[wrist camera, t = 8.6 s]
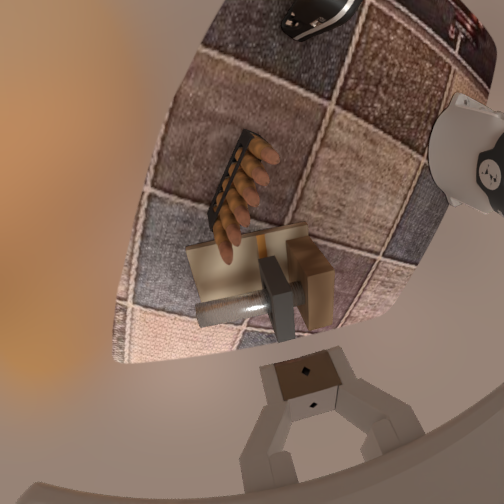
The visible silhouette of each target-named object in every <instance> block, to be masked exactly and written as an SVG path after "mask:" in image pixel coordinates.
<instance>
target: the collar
mask: <svg viewBox="0 0 504 504" xmlns="http://www.w3.org/2000/svg"><path fill="white" fill-rule="evenodd" d="M258 263H259V269H260V276H261V283H262V289H266V288H267V291H268V293H269V296H270V299H271V307H272V312H271V313H268V315H269V318H270V321H271V324H272V327H273V329H274V332H275V335H276V338H277V341H278V343H280V342H284V341H287V340H291V339H295V325H294V309H293V294H292V289H291V287H290V285H289V283H288V281H287V279H286V277H285V275H284V273H283V271H282V269H281V267H280V265H279V263H278V261H277V259H276V257H275V255H274V256H270V257H265V258H260V259H258Z"/></svg>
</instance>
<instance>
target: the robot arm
mask: <svg viewBox="0 0 504 504" xmlns="http://www.w3.org/2000/svg"><path fill="white" fill-rule="evenodd" d="M429 165H430V170H431V174H432V177H433V179H434V181H435V183H436V184H437V186H438V187H439V188H440V189H441V190H442V191H443V192H444V193H445V194H446V197H447V200H448V203H449V204H450V205H452V206H454V207H457V206H459V205H461V204H465V205H467V206H469V207H471V208H473V209H475V210H477V211H479V212H481V213H483V214H488V213H491V212H493V211H495V212H497V213H499V214H500V215H501V216H502V217H504V113H502V112H500V111H493V110H491V109H490V108H488V107H486V106H485V105H483V104H481V103H479V102H478V101H476V100H474V99H472V98H470V97H468V96H466V95H465V94H462V93H459V92H456V93H455V94H454V96H453V98H452V100H451V103H450V105H449V107H448V108H447V109H446V110H445V111H444V112H443V113H442V114H441V115H440V116H439V118H438V119H437V121H436V123H435V125H434V127H433V130H432V134H431V137H430V143H429ZM259 368H260V374H261V378H262V383H263V387H264V391H265V395H266V399H267V404H268V405H266V406H264V407H263V409H262V411H261V414H260V416H259V418H258V420H257V423H256V424H255V427H254V429H253V431H252V433H251V435H250V437H249V439H248V441H247V444H246V446H245V448H244V450H243V452H242V454H241V456H240V458H239V461H240V467H241V472H242V479H243V484H244V491H245V494H238V495H231V496H221V497H209V498H192V499H148V498H131V497H119V496H110V495H103V494H95V493H89V492H83V491H78V490H72V489H68V488H63V487H59V486H54V485H51V484H47V483H43V482H35V483H34V484H32V485H31V486H30V487H29V488H28V489H27V490H26V491H25V492H24V493H23V494H22V495H21V496H20V498H19V499H18V500H17V502H16V504H504V383H502V384H501V385H500V386H499V387H497V388H496V389H495V390H494V391H492V392H491V393H490V394H488V395H487V396H485V397H484V398H483V399H481V400H480V401H479V402H477V403H476V404H474V405H473V406H471V407H470V408H468V409H467V410H465V411H464V412H462V413H461V414H459V415H458V416H456V417H454V418H453V419H451V420H450V421H448V422H446V423H445V424H443V425H441V426H440V427H438V428H436V429H434V430H432V431H431V432H429V433H427V434H425V432H424V430H423V428H422V427H421V424H420V423H419V421H418V419H417V417H416V415H415V414H414V411H413V410H412V408H411V406H410V405H408V404H406V403H404V402H402V401H400V400H399V399H397V398H395V397H393V396H391V395H390V394H387V393H386V392H384V391H382V390H380V389H379V388H377V387H375V386H373V385H371V384H370V383H368V382H366V381H364V380H363V379H361V378H360V379H357V378H356V376H355V374H354V372H353V370H352V368H351V366H350V364H349V362H348V360H347V358H346V356H345V354H344V352H343V350H342V348H341V347H340V346H336V347H333V348H330V349H327V350H322V351H319V352H315V353H312V354H308V355H305V356H302V357H300V358H295V359H291V360H287V361H283V362H279V363H274V364H269V365H265V366H260V367H259ZM332 410H335V411H336V412H338V413H339V414H340V415H341V416H343V417H344V418H346V419H347V420H348V421H349V422H351V423H352V424H353V425H355V426H356V427H357V428H359V429H360V430H362V431H363V432H365V433H366V434H367V437H366V439H365V441H364V443H363V445H362V447H361V449H360V450H361V453H362V455H363V458H364V460H365V462H364V463H362V464H359V465H356V466H354V467H351V468H348V469H345V470H342V471H339V472H336V473H333V474H329V475H326V476H323V477H319V478H316V479H312V480H309V481H305V482H301V483H299V482H298V479H297V475H296V472H295V468H294V465H293V461H292V458H291V454H290V453H289V452H287V451H282V449H283V447H284V444H285V441H286V439H287V435H288V433H289V430H290V426H291V424H292V422H294V421H298V420H301V419H304V418H308V417H311V416H314V415H318V414H322V413H325V412H329V411H332Z"/></svg>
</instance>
